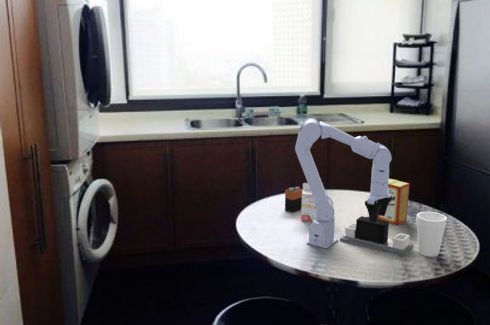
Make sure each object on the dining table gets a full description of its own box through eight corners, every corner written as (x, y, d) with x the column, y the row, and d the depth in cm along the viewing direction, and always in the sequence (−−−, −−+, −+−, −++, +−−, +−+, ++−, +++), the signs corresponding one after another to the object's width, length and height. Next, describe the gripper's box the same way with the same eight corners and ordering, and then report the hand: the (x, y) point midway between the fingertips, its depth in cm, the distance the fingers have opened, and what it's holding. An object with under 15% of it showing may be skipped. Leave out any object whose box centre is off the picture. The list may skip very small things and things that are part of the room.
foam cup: (420, 244, 175) (423, 209, 172) (447, 251, 169) (450, 215, 166) (409, 253, 168) (412, 217, 165) (437, 261, 162) (440, 223, 159)
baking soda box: (406, 221, 198) (409, 182, 194) (397, 225, 193) (400, 185, 190) (385, 215, 205) (388, 177, 201) (376, 219, 200) (378, 180, 196)
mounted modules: (402, 249, 168) (403, 240, 167) (345, 235, 180) (345, 227, 179) (408, 243, 172) (409, 234, 172) (352, 230, 184) (352, 222, 184)
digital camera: (389, 239, 176) (390, 220, 174) (383, 244, 172) (385, 225, 170) (361, 232, 182) (362, 214, 180) (355, 237, 178) (356, 219, 176)
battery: (284, 210, 211) (284, 187, 209) (295, 207, 215) (296, 184, 213) (291, 213, 208) (292, 190, 205) (303, 209, 212) (303, 187, 209)
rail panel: (403, 256, 166) (403, 251, 165) (339, 240, 179) (340, 236, 179) (413, 246, 174) (413, 242, 173) (351, 232, 187) (351, 228, 186)
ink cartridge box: (301, 221, 198) (302, 186, 194) (301, 217, 203) (301, 182, 199) (323, 222, 197) (324, 186, 194) (322, 218, 202) (323, 183, 198)
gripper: (383, 187, 163) (380, 227, 166) (398, 178, 174) (396, 214, 178) (362, 184, 167) (360, 222, 170) (379, 175, 178) (377, 211, 182)
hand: (377, 218), depth 174 cm, fingers open, 7 cm apart
